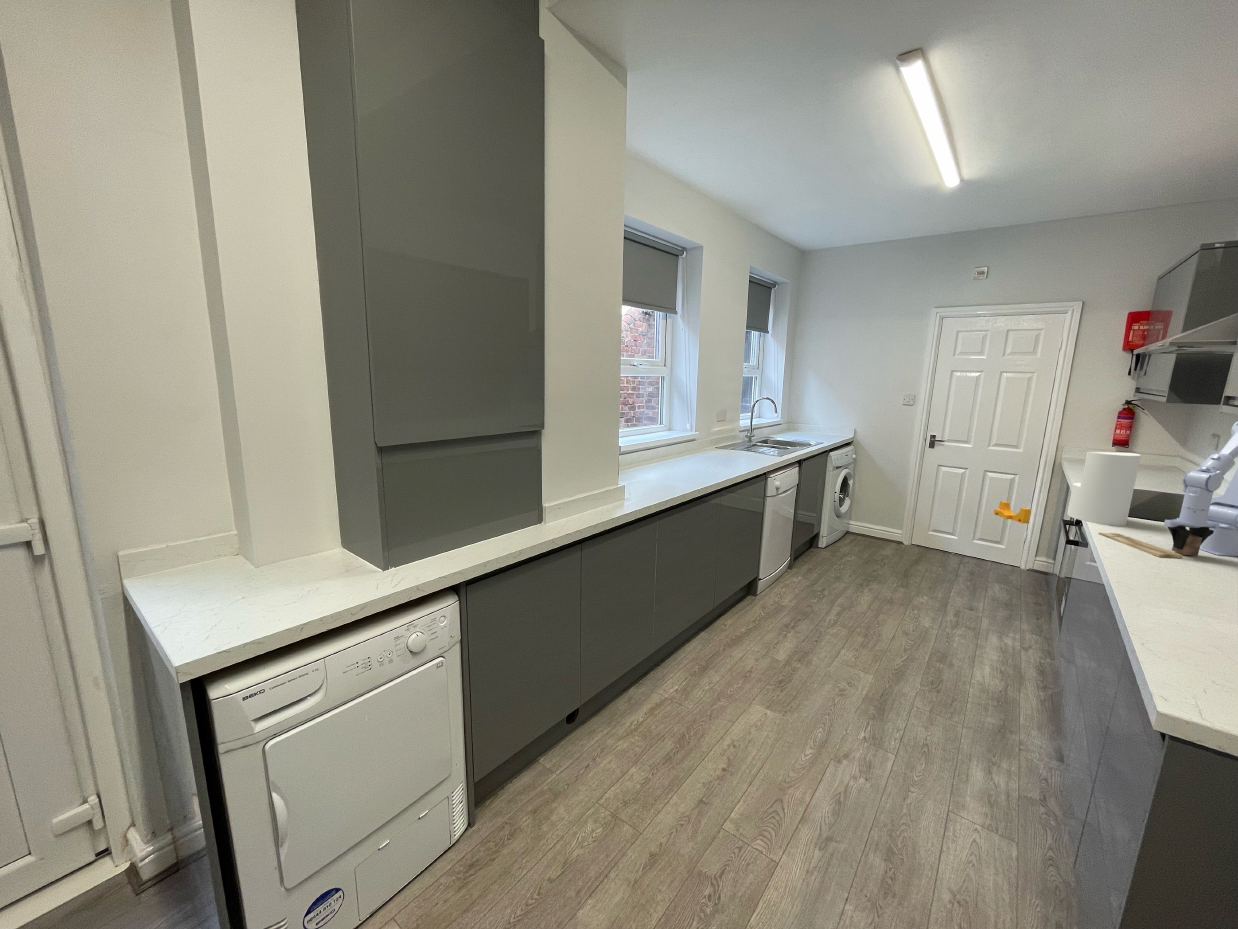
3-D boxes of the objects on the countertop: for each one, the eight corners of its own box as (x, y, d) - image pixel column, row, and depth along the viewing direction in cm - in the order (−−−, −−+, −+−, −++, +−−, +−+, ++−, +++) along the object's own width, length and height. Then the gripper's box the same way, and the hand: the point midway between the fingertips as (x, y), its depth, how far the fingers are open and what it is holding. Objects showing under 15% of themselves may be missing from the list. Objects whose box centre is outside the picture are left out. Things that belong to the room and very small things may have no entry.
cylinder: (1139, 527, 189) (1154, 456, 184) (1093, 526, 189) (1108, 455, 184) (1096, 515, 206) (1110, 449, 201) (1055, 514, 206) (1067, 448, 201)
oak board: (1118, 536, 178) (1119, 533, 178) (1182, 558, 156) (1182, 554, 156) (1098, 535, 178) (1098, 532, 178) (1158, 557, 157) (1159, 553, 157)
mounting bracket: (993, 516, 201) (995, 501, 200) (1003, 516, 202) (1006, 501, 200) (1017, 525, 190) (1020, 509, 188) (1028, 525, 190) (1031, 509, 189)
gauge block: (1184, 551, 162) (1189, 533, 161) (1197, 555, 158) (1202, 537, 157) (1171, 550, 162) (1175, 532, 161) (1184, 554, 158) (1188, 536, 157)
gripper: (1206, 506, 160) (1196, 545, 163) (1158, 504, 162) (1149, 543, 164) (1230, 511, 154) (1220, 553, 156) (1180, 510, 155) (1171, 550, 157)
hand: (1185, 548), depth 160 cm, fingers closed on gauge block, 4 cm apart
